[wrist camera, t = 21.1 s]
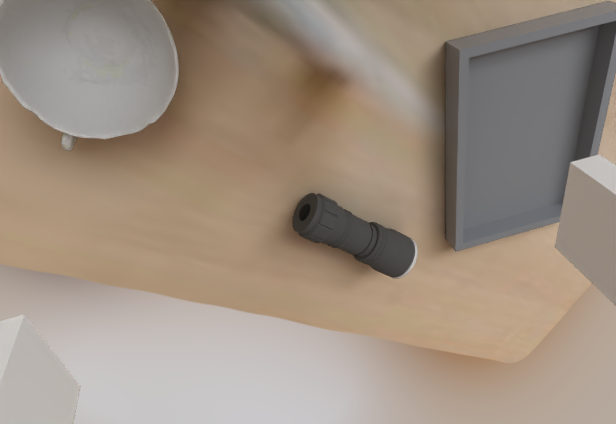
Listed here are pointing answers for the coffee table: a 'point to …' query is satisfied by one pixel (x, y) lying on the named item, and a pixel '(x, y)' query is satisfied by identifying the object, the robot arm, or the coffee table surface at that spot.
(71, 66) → the teacup
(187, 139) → the coffee table surface
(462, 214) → the box
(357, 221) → the flashlight
